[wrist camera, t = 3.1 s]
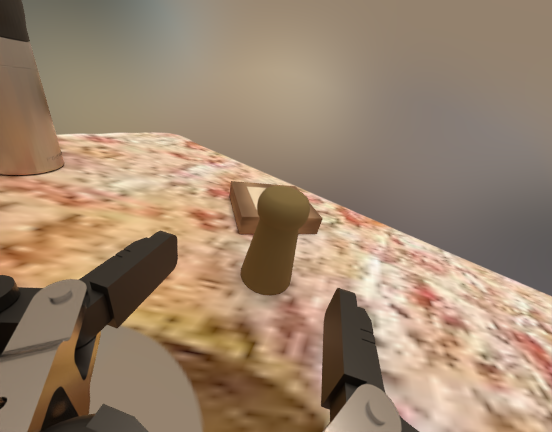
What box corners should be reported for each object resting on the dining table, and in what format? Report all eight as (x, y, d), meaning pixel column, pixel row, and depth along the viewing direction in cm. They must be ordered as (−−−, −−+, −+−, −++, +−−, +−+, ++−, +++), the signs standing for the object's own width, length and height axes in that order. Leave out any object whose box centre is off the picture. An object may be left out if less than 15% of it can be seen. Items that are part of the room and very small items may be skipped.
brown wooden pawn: (274, 252, 30) (294, 178, 24) (300, 285, 26) (331, 204, 20) (232, 263, 26) (245, 179, 21) (255, 302, 22) (277, 211, 17)
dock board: (239, 234, 32) (242, 216, 30) (229, 195, 41) (231, 180, 40) (316, 233, 36) (322, 218, 35) (291, 199, 46) (295, 186, 44)
